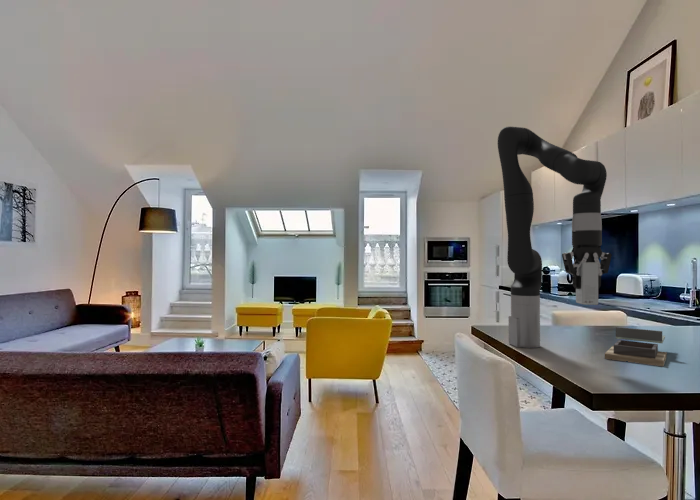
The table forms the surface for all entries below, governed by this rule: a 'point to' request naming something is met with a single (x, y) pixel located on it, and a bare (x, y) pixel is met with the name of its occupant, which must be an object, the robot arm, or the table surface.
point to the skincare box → (588, 284)
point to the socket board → (636, 353)
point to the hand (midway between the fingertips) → (586, 288)
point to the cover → (639, 335)
